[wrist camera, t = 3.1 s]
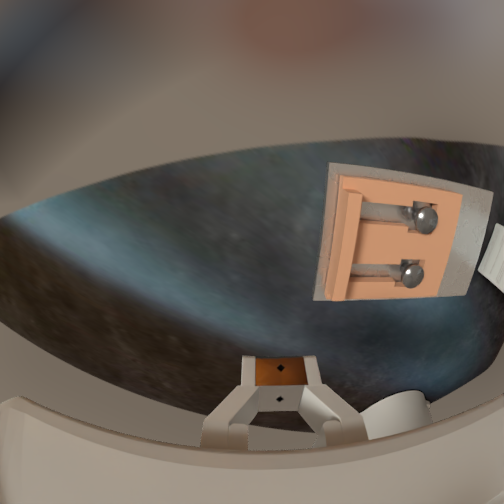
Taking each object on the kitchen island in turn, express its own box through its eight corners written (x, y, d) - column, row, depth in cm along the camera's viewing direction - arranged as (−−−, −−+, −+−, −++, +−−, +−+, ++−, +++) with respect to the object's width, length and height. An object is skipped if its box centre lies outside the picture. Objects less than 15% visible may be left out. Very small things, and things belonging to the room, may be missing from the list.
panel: (432, 291, 27) (443, 304, 25) (324, 294, 27) (330, 309, 25) (457, 192, 22) (473, 199, 20) (340, 175, 23) (350, 180, 20)
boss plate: (461, 291, 29) (473, 303, 26) (311, 295, 29) (316, 312, 26) (488, 190, 23) (504, 197, 20) (326, 161, 23) (335, 165, 20)
